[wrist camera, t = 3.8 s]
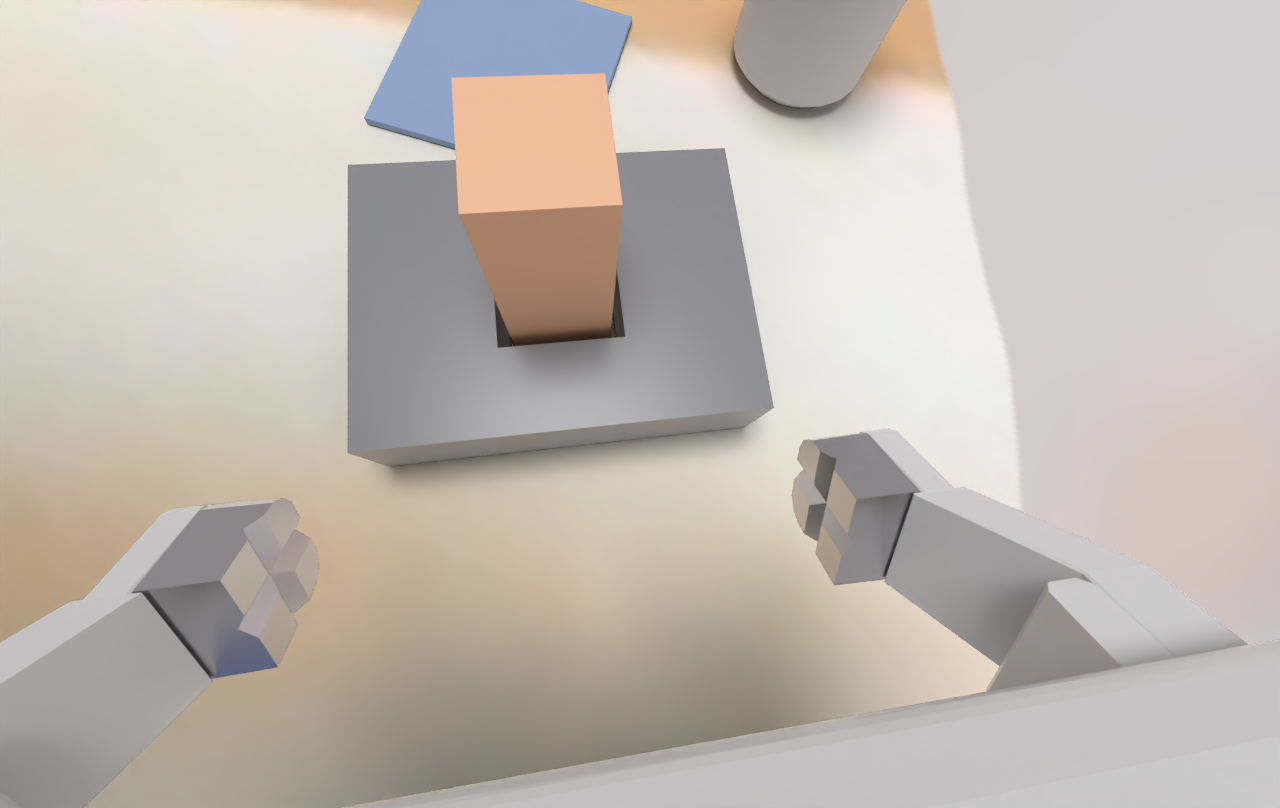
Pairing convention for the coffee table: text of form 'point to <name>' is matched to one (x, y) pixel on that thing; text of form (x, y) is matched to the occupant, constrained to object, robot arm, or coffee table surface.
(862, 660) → the coffee table surface
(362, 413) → the grey socket block
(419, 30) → the mat
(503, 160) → the plug
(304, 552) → the robot arm
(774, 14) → the can
